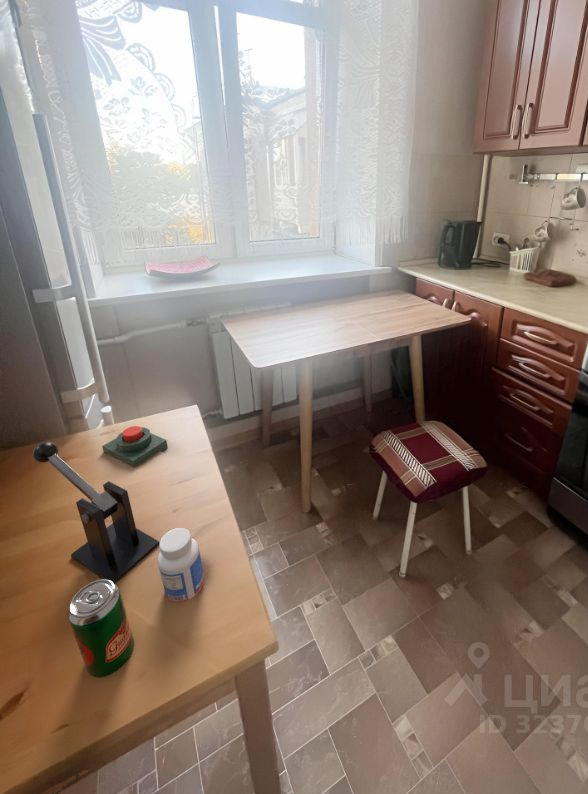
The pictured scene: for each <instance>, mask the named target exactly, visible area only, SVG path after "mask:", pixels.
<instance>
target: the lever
mask: <svg viewBox="0 0 588 794" xmlns="http://www.w3.org/2000/svg"><path fill="white" fill-rule="evenodd" d="M58 454H59V447H58V445H57V444H56V443H55V442H52V441H44V442H41V443H38V444H37V445H36V446H35V447H34V449H33V450H32V458H33V459H34V461H36V462H37V463H44V464H45V463H49V464H50V465H51V466H52V467H53V468H54V469H56V470H57V472H59V473H60V474H61V475H62V476H63V477H65V479H67V480H68V481H69V482H70V483H71V485H73V486H74V487H75V488H76V489H78V491H80V492H81V493H82V494H83V495H84V496H85V497H86V498H87V499H88V500H89V501H90V503H92V504H94V505H95V506H97V507H99V508H100V509H101V510H102V514H103V518H104V521H105V520H107V519H108V518H109V517H111V515H112V514H113V513H115V512H116V511H117V506H118V501H116V500H115V499H114V498H113V497H112V496H111V495H110V494H109V493H108V492H106V491H103V492H102V493H100V492H99V491H97V490H96V489H95V488H94V487H93V486H92V485H91V484H90V483H89V482H87V481H86V480H85V479H84V478H83V477H82V476H81V475H79V473H78V472H77V471H76V470H74V469H73V468H72V466H70V465H69V464H67V463H66V462H65V461H64V460H63V459H62V458H61V457H60V456H59V455H58Z"/></svg>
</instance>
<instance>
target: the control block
mask: <svg viewBox="0 0 588 794" xmlns="http://www.w3.org/2000/svg"><path fill="white" fill-rule="evenodd" d="M140 427H141V426H140ZM141 428H142V433H143V437H142V438H140V439H139V440H137V441H133V442H125V441H124V438H123V431H122V432H120V433H118V435H117V436H116V437H115V438H114V439H112V440H111V441H108V442H107V443H105V444H103V445H102V446H101V448H102V453H104V454H106V455H108V456H110V457H112V458H114V459H116V460H118V461H120V462H122V463H124V464H126V465H128V466H131V467H132V468H136V467H138V466H139V465H140V464H142V463H144V462H145V461H147V460H148V459H150V458H152V457H153V456H155V455H156V454H158V453H159V452H162V453H163V452H164V451H166V450H167V449H169V448H168V440H167V439H165V438H163V437H161V436H158V435H156V434H154V433H152V432H151V430H150V429H149V428H147V427H145V426H142V427H141Z"/></svg>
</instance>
